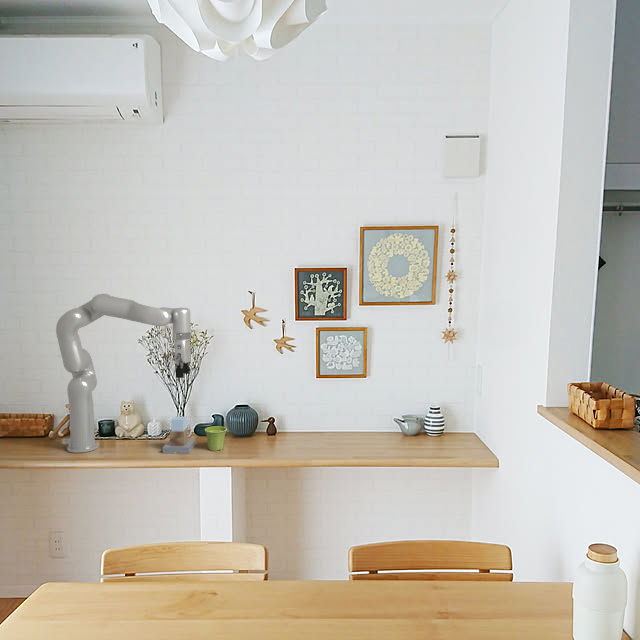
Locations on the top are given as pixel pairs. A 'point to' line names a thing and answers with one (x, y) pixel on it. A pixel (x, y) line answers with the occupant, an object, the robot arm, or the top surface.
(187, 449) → the slate base
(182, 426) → the blue block
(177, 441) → the walnut block
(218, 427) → the plant pot
